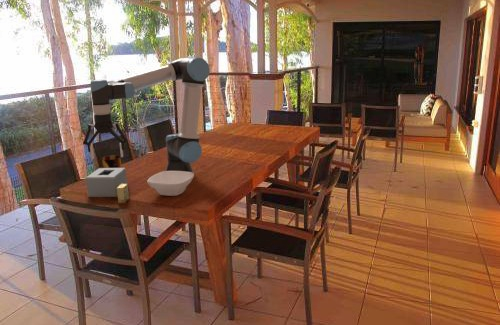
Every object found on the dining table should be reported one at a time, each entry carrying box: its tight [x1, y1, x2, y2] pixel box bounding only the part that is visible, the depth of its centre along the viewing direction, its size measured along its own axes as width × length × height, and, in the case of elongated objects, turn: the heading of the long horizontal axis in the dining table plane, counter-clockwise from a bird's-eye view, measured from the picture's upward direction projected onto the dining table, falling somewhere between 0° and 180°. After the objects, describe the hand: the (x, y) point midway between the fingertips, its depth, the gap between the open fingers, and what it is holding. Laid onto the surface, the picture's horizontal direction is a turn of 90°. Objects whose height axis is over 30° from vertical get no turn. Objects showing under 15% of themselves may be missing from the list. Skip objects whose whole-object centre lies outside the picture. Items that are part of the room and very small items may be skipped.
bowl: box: [146, 170, 195, 197], centre depth 215 cm, size 21×21×9 cm
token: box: [117, 183, 130, 204], centre depth 207 cm, size 3×6×8 cm, turn 176°
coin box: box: [85, 167, 128, 198], centre depth 222 cm, size 14×16×10 cm
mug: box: [101, 154, 123, 168], centre depth 242 cm, size 10×14×12 cm
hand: (107, 157), depth 211 cm, fingers open, 13 cm apart
